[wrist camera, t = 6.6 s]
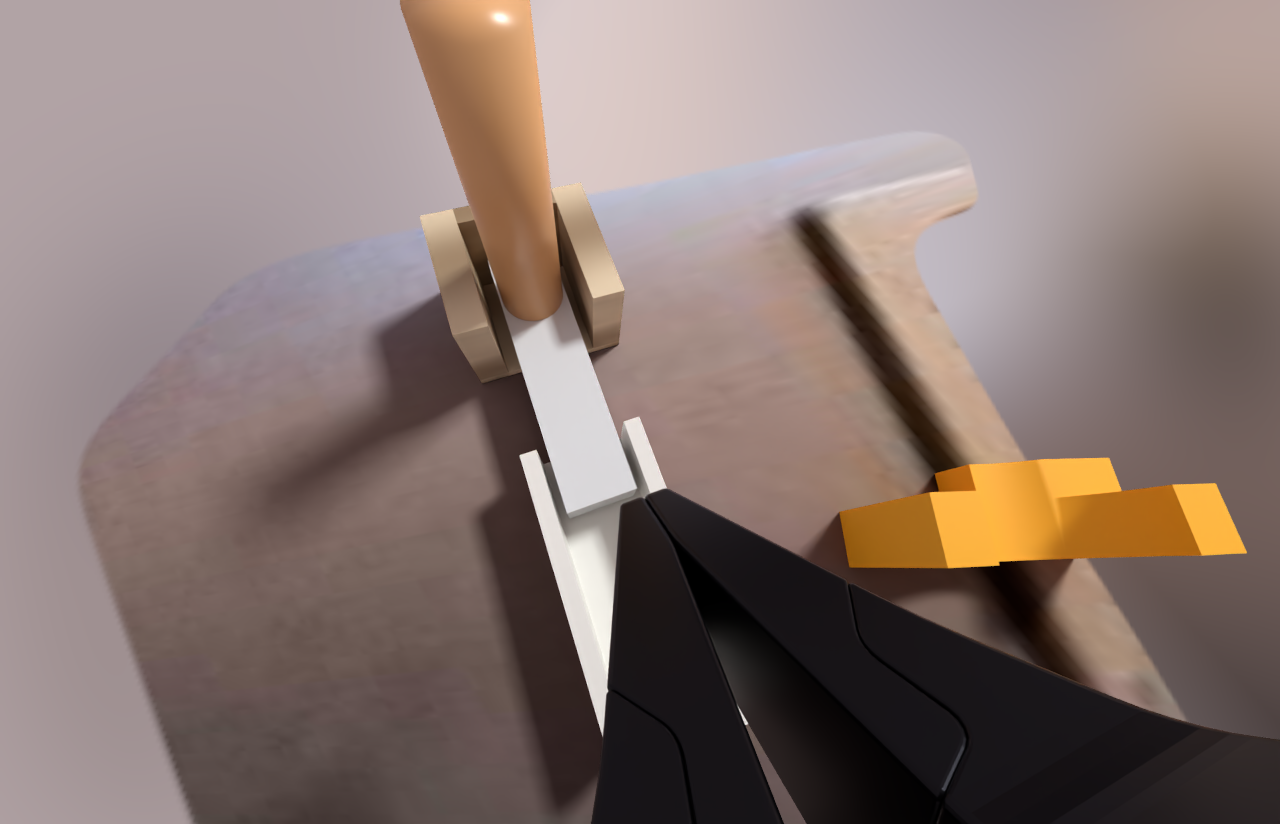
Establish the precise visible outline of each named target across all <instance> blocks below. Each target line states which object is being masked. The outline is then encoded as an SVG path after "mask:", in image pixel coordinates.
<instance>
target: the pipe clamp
mask: <svg viewBox="0 0 1280 824" xmlns="http://www.w3.org/2000/svg"><path fill="white" fill-rule="evenodd" d="M935 477H936V481H937V485H938V489H939V492H928V493H924V494H919V495H914V496H910V497H905V498H901V499H896V500H891V501H887V502H882V503H878V504H873V505H868V506H864V507H859V508H855V509H850V510H846V511H841V512H839V513H840V518H841V524H842V529H843V535H844V540H845V546H846V552H847V557H848V563H849V567H863V568H961V567H981V566H1000V565H999V562H1001V561H1022V560H1047V559H1075V558H1108V557H1143V556H1144V557H1146V556H1186V555H1188V556H1192V555H1218V554H1236V553H1237V554H1238V553H1247V552H1246V550H1245V548H1244V545H1243V543H1242V541H1241V539H1240V536H1239V534H1238V532H1237V530H1236V528H1235V525H1234V523H1233V521H1232V519H1231V517H1230V514H1229V512H1228V510H1227V508H1226V505H1225V503H1224V501H1223V499H1222V497H1221V494H1220V492H1219V490H1218V488H1217V486H1216V483H1212V484H1182V485H1181V484H1180V485H1166V486H1159V487H1151V488H1143V489H1136V490H1127V491H1121V488H1120V486H1119V483H1118V480H1117V478H1116V475H1115V473H1114V470H1113V468H1112V465H1111V462H1110V459H1109V458H1086V459H1085V458H1082V459H1040V460H1031V461H1022V462H1011V463H997V464H974V465H965V466H962V467H958V468H954V469H950V470H947V471H943V472H939V473H936V474H935Z"/></svg>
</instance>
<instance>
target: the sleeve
mask: <svg viewBox="0 0 1280 824" xmlns="http://www.w3.org/2000/svg"><path fill="white" fill-rule="evenodd" d="M619 440H620V443H621V445H622V448H623V451H624V454H625V456H626V459H627V462H628V465H629V467H630V470H631V473H632V476H633V478H634V481H635V484H636V487H637V490H636V491H635V493H634V495H633V496H632V497H629V498H626V499H623V500H620V501H618V502H615V503H612V504H609V505H607V506H604V507H601V508H598V509H595V510H593V511H590V512H587V513H584V514H581V515H579V516H576V517H573V518H569V516H568V514H567V512H566V509H565V506H564V502H563V499H562V496H561V493H560V490H559V486H558V483H557V480H556V477H555V474H554V471H553V467H552V464H551V462H549V463H546V464H543V462H542V460H541V458H540V456H539V454H538V452H537V450H534V451H531V452H528V453H525V454H522V455H519V456H520V459H521V462H522V466H523V469H524V473H525V476H526V479H527V483H528V486H529V490H530V493H531V496H532V500H533V503H534V506H535V510H536V513H537V517H538V520H539V523H540V527H541V530H542V533H543V537H544V540H545V544H546V547H547V550H548V554H549V557H550V561H551V564H552V567H553V571H554V574H555V577H556V581H557V584H558V588H559V591H560V594H561V598H562V601H563V605H564V608H565V611H566V615H567V618H568V621H569V625H570V628H571V632H572V635H573V638H574V642H575V645H576V648H577V652H578V655H579V659H580V662H581V665H582V669H583V672H584V676H585V679H586V682H587V686H588V689H589V692H590V696H591V699H592V703H593V706H594V709H595V713H596V716H597V719H598V723H599V726H600V730H601V733H602V736H603V729H604V717H605V704H606V694H607V692H608V689H607V681H608V667H609V653H610V639H611V625H612V611H613V598H614V584H615V570H616V556H617V542H618V528H619V514H620V506H621V505H622V504H623V503H625V502H627V501H630V500H633V499H636V498H639V497H642V498H644V499H645V496H646V495H647V494H650V493H652V492H655V491H658V490H661V489H664V488H666V485H665V483H664V480H663V478H662V475H661V472H660V470H659V467H658V464H657V462H656V459H655V457H654V454H653V451H652V449H651V446H650V444H649V441H648V438H647V436H646V433H645V430H644V428H643V425H642V423H641V420H640V417H637V418H633V419H630V420H627V421H624V423H623V428H622V433H621V437H620V439H619ZM666 489H667V488H666ZM737 706H738V705H737ZM738 708H739V707H738ZM739 711H740V713H741V716H742V718H743V721H744V723H745V725H747V724H748V722H747V721H746V719H745V717H744V715H743V714H742V712H741V710H740V709H739Z"/></svg>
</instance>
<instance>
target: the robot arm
mask: <svg viewBox="0 0 1280 824" xmlns="http://www.w3.org/2000/svg"><path fill="white" fill-rule="evenodd" d="M607 689H608V692H607V694H606V704H605V717H604V729H603V739H602V748H601V758H600V767H599V776H598V783H597V789H596V796H595V802H594V808H593V815H592V821H591V824H784V823H783V820H782V818H781V815H780V813H779V810H778V807H777V805H776V802H775V800H774V797H773V795H772V792H771V790H770V787H769V785H768V782H767V779H766V777H765V774H764V772H763V769H762V767H761V764H760V762H759V759H758V757H757V754H756V751H755V749H754V746H753V744H752V741H751V739H750V736H749V734H748V731H747V729H746V726H745V723H744V721H743V718H742V716H741V713H740V711H739V709H740V710H741V712H742V714H743V715H744V717H745V719H746V721H747V722H748V724H749V726H750V727H751V729H752V731H753V733H754V734H755V736H756V738H757V739H758V741H759V743H760V745H761V746H762V748H763V750H764V751H765V753H766V755H767V757H768V758H769V760H770V762H771V763H772V765H773V767H774V769H775V770H776V772H777V774H778V775H779V777H780V779H781V781H782V782H783V784H784V786H785V787H786V789H787V791H788V792H789V794H790V796H791V798H792V799H793V801H794V803H795V804H796V806H797V808H798V810H799V811H800V813H801V815H802V816H803V818H804V820H805V822H806V823H807V824H1280V740H1278V739H1270V738H1263V737H1257V736H1250V735H1244V734H1238V733H1232V732H1227V731H1223V730H1218V729H1213V728H1209V727H1204V726H1200V725H1196V724H1193V723H1189V722H1185V721H1182V720H1178V719H1174V718H1171V717H1168V716H1165V715H1162V714H1158V713H1155V712H1152V711H1149V710H1146V709H1143V708H1140V707H1138V706H1135V705H1133V704H1130V703H1127V702H1125V701H1122V700H1120V699H1117V698H1114V697H1112V696H1109V695H1107V694H1105V693H1102V692H1100V691H1097V690H1095V689H1093V688H1090V687H1088V686H1085V685H1083V684H1080V683H1078V682H1076V681H1073V680H1071V679H1068V678H1066V677H1063V676H1061V675H1059V674H1056V673H1054V672H1051V671H1049V670H1046V669H1044V668H1042V667H1039V666H1037V665H1034V664H1032V663H1030V662H1027V661H1025V660H1022V659H1020V658H1017V657H1015V656H1013V655H1010V654H1008V653H1005V652H1003V651H1000V650H998V649H996V648H993V647H991V646H988V645H986V644H984V643H981V642H979V641H976V640H974V639H972V638H969V637H967V636H965V635H962V634H960V633H958V632H956V631H953V630H951V629H949V628H946V627H944V626H942V625H939V624H937V623H935V622H932V621H930V620H928V619H926V618H923V617H921V616H919V615H917V614H915V613H913V612H911V611H909V610H907V609H905V608H903V607H900V606H898V605H896V604H894V603H892V602H890V601H888V600H886V599H884V598H882V597H880V596H878V595H876V594H874V593H872V592H870V591H868V590H866V589H864V588H862V587H860V586H858V585H856V584H854V583H850V584H849V586H848V582H847V580H846V579H844V578H842V577H840V576H838V575H836V574H834V573H832V572H830V571H828V570H826V569H824V568H822V567H820V566H819V565H817V564H815V563H813V562H811V561H809V560H807V559H805V558H803V557H801V556H799V555H797V554H795V553H793V552H791V551H789V550H787V549H785V548H783V547H781V546H779V545H777V544H775V543H773V542H772V541H770V540H768V539H766V538H764V537H762V536H760V535H758V534H756V533H754V532H752V531H750V530H748V529H746V528H744V527H742V526H740V525H738V524H736V523H734V522H732V521H730V520H728V519H726V518H725V517H723V516H721V515H719V514H717V513H715V512H713V511H711V510H709V509H707V508H705V507H703V506H701V505H699V504H697V503H695V502H693V501H691V500H689V499H687V498H685V497H683V496H681V495H679V494H678V493H676V492H674V491H672V490H670V489H666V488H664V489H661V490H658V491H655V492H652V493H650V494H647V495H646V496H645V499H644V498H642V497H639V498H636V499H633V500H630V501H627V502H625V503H623V504H622V505H621V506H620V514H619V528H618V542H617V556H616V570H615V584H614V598H613V611H612V625H611V639H610V653H609V667H608V681H607ZM737 705H738V706H737ZM738 707H739V708H738Z"/></svg>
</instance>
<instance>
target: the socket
mask: <svg viewBox="0 0 1280 824" xmlns="http://www.w3.org/2000/svg"><path fill="white" fill-rule="evenodd" d="M551 192H552V201H553V210H554V219H555V228H556V236H557V245H558V254H559V263H560V272H561V280H562V283H563V286H564V289H565V292H566V294H567V297H568V300H569V303H570V305H571V308H572V311H573V314H574V316H575V319H576V322H577V325H578V327H579V330H580V333H581V336H582V338H583V341H584V344H585V346H586V349H587V352H588V353H591V352H594V351H597V350H601V349H604V348H608V347H611V346H615V345H618V344H619V335H620V326H621V317H622V308H623V300H624V291H625V290H624V288H623V285H622V283H621V280H620V278H619V275H618V273H617V271H616V268H615V266H614V263H613V261H612V258H611V256H610V253H609V251H608V248H607V246H606V244H605V241H604V239H603V236H602V234H601V231H600V229H599V226H598V224H597V221H596V219H595V216H594V214H593V212H592V209H591V207H590V204H589V202H588V199H587V197H586V194H585V192H584V190H583V187H582V185H581V183H576V184H572V185H567V186H562V187H557V188H552V189H551ZM420 219H421V223H422V227H423V230H424V234H425V238H426V241H427V245H428V248H429V252H430V256H431V259H432V263H433V267H434V270H435V274H436V278H437V281H438V285H439V289H440V292H441V296H442V300H443V303H444V307H445V311H446V314H447V318H448V322H449V325H450V329H451V333H452V336H453V337H454V339H455V341H456V342H457V344H458V345H459V347H460V349H461V350H462V352H463V354H464V355H465V357H466V358H467V360H468V362H469V363H470V365H471V367H472V368H473V370H474V371H475V373H476V375H477V376H478V378H479V379H480V381H481V383H486V382H489V381H493V380H496V379H500V378H503V377H507V376H510V375H514V374H517V373H521V372H522V369H521V366H520V363H519V359H518V356H517V353H516V350H515V347H514V343H513V340H512V337H511V334H510V331H509V328H508V324H507V321H506V318H505V315H504V312H503V309H502V305H501V302H500V299H499V296H498V293H497V289H496V286H495V283H494V280H493V277H492V274H491V270H490V267H489V264H488V261H487V260H488V258H487V255H486V252H485V249H484V246H483V243H482V241H481V238H480V235H479V232H478V229H477V226H476V223H475V220H474V218H473V215H472V212H471V209H470V206H466V207H461V208H456V209H451V210H446V211H442V212H437V213H432V214H427V215H422V216H420Z"/></svg>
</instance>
